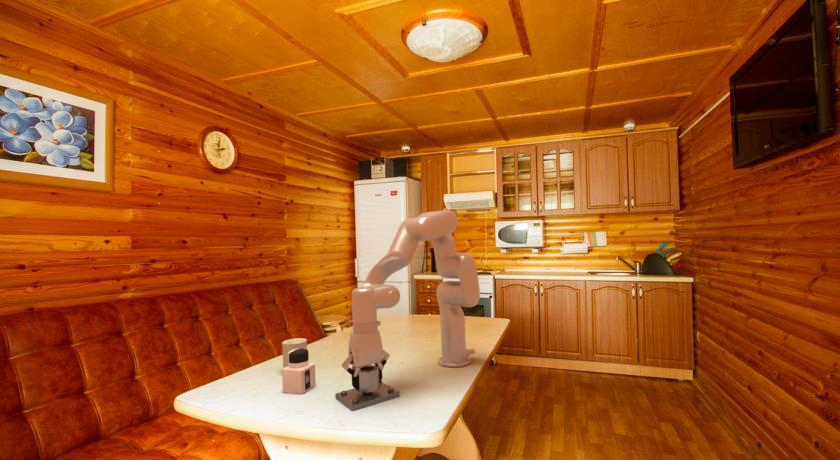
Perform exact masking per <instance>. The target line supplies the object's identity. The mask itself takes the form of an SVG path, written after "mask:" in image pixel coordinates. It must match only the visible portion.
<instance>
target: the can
mask: <svg viewBox="0 0 840 460" xmlns="http://www.w3.org/2000/svg"><path fill="white" fill-rule="evenodd" d="M281 347H282V365H283V366H282V369H283V368H285V367H287V366H289V365H288V353H289V352H290V351H291V350H294V349H300V348H303V349H307V350H308V339H307V338H303V337H299V338H297V337H296V338H290V339H286V340H283V341H282V342H281Z"/></svg>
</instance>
